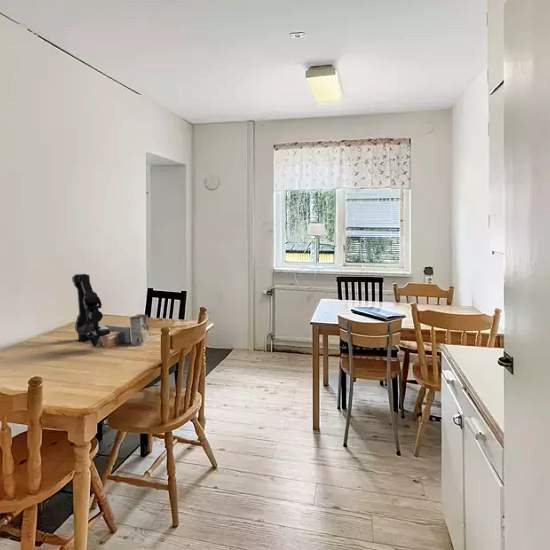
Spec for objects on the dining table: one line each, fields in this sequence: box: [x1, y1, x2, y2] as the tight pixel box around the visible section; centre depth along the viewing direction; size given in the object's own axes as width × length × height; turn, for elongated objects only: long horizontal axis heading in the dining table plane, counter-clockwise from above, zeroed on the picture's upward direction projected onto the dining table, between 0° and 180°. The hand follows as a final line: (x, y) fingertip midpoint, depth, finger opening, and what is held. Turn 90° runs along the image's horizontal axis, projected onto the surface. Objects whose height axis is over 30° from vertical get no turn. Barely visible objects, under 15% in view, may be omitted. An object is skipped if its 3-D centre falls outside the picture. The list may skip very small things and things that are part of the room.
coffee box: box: [129, 313, 151, 346], centre depth 237 cm, size 9×6×16 cm
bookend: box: [116, 332, 130, 346], centre depth 236 cm, size 5×5×6 cm
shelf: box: [97, 324, 132, 344], centre depth 240 cm, size 19×7×9 cm, turn 65°
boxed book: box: [101, 331, 121, 348], centre depth 237 cm, size 5×10×6 cm, turn 155°
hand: (94, 346), depth 226 cm, fingers closed
